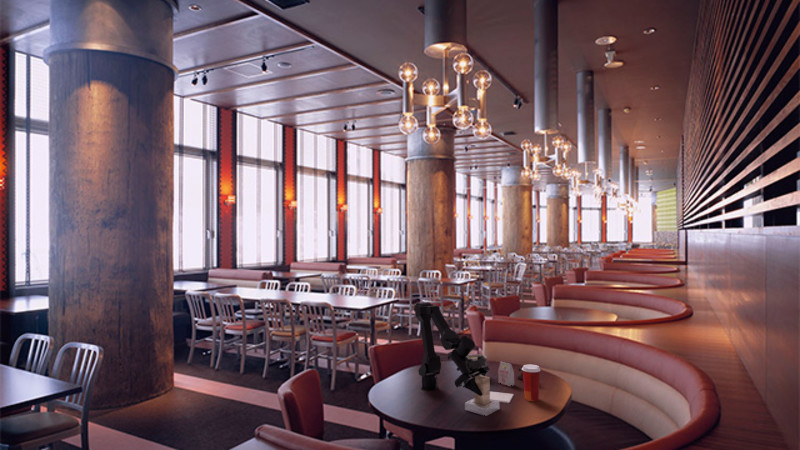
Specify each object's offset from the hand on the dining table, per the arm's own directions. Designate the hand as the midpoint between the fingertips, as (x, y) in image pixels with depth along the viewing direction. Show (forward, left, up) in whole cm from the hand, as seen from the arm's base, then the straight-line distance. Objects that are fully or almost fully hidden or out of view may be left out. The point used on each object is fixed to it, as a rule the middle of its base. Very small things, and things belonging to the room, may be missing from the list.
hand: (484, 393), depth 199 cm
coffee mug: (-15, +43, -7) cm, 47 cm away
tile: (+1, +16, -7) cm, 18 cm away
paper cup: (+16, +19, -7) cm, 26 cm away
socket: (-1, 0, -7) cm, 7 cm away
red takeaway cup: (+11, +43, -7) cm, 45 cm away
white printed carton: (+2, +36, -7) cm, 37 cm away
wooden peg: (-1, 0, -7) cm, 7 cm away
